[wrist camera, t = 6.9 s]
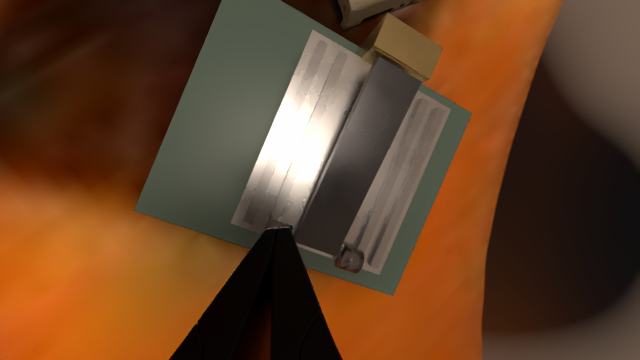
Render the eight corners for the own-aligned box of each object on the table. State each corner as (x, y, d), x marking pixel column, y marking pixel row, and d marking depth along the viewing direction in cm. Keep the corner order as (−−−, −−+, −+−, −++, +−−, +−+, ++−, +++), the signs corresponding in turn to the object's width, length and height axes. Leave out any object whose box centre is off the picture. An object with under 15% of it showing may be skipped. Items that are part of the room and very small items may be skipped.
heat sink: (360, 258, 21) (391, 294, 15) (236, 214, 18) (222, 238, 13) (429, 96, 21) (486, 75, 15) (314, 29, 18) (333, -23, 13)
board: (387, 289, 23) (392, 295, 22) (141, 207, 18) (133, 210, 17) (463, 115, 23) (472, 113, 22) (235, -17, 18) (233, -28, 17)
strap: (333, 250, 16) (336, 256, 16) (293, 236, 16) (293, 241, 15) (414, 84, 15) (421, 81, 14) (374, 60, 14) (379, 56, 14)
